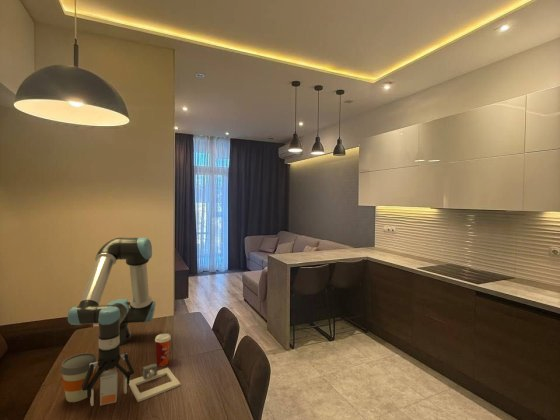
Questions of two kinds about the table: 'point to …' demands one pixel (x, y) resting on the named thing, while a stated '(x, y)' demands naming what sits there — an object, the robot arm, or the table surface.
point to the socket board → (146, 378)
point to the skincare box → (108, 387)
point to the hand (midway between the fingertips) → (108, 397)
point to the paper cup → (162, 349)
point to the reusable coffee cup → (76, 375)
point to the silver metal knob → (150, 372)
